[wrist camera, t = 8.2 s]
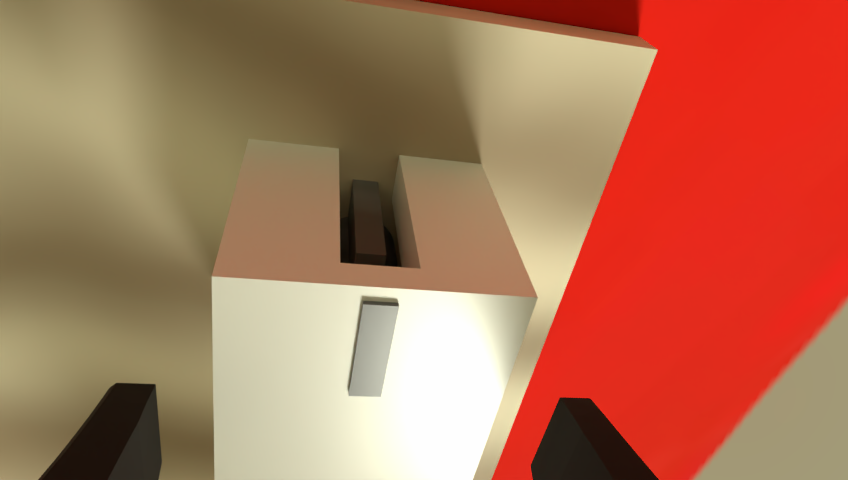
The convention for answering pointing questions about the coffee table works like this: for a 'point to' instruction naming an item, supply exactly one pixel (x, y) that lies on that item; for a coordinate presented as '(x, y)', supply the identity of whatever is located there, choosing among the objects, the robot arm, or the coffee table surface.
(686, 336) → the coffee table surface
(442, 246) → the slotted white block
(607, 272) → the coffee table surface
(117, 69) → the board
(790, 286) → the coffee table surface
